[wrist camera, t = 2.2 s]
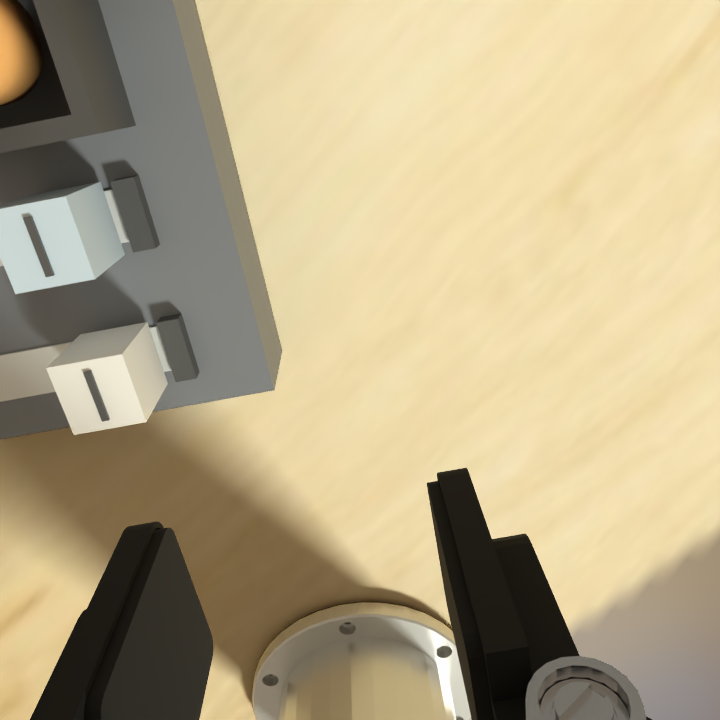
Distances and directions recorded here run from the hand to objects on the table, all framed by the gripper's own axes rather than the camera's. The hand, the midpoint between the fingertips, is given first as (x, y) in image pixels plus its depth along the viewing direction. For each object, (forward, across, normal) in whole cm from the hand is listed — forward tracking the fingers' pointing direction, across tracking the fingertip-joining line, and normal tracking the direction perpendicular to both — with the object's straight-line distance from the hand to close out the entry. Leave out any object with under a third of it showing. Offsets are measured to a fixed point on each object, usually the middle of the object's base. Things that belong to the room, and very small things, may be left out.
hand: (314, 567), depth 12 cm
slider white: (+13, +8, 0) cm, 15 cm away
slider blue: (+13, +8, -5) cm, 16 cm away
